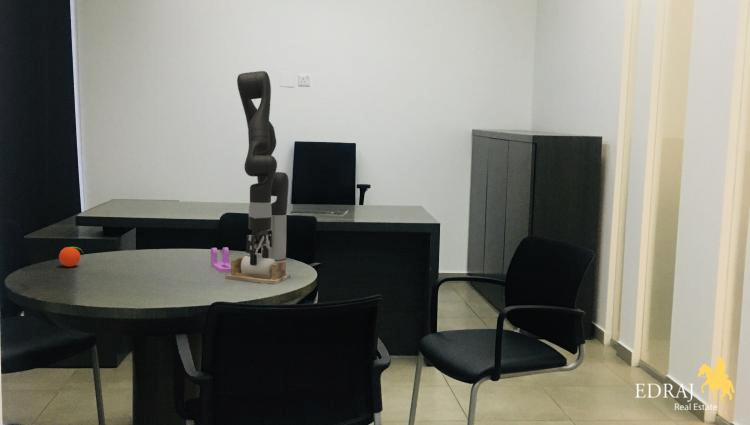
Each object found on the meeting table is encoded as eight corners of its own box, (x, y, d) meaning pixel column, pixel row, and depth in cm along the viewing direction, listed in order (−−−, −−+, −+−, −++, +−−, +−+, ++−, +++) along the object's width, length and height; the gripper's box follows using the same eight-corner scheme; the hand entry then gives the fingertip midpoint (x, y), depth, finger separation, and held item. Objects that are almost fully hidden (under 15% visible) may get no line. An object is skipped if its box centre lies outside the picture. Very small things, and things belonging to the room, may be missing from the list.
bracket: (210, 266, 274) (210, 247, 274) (225, 265, 277) (226, 246, 276) (220, 273, 263) (221, 253, 262) (236, 272, 266) (236, 252, 265)
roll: (239, 275, 255) (239, 257, 254) (247, 271, 261) (247, 254, 260) (269, 278, 252) (269, 260, 251) (277, 275, 257) (277, 257, 256)
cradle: (243, 272, 265) (243, 255, 264) (290, 277, 259) (290, 260, 258) (225, 278, 254) (225, 260, 253) (274, 284, 248) (274, 266, 247)
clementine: (84, 264, 269) (84, 244, 268) (83, 268, 262) (83, 247, 261) (59, 264, 266) (59, 244, 265) (58, 268, 260) (58, 248, 259)
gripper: (259, 212, 262) (259, 258, 264) (239, 216, 248) (239, 265, 250) (279, 213, 259) (278, 260, 261) (260, 218, 246) (259, 268, 248)
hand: (259, 263), depth 256 cm, fingers open, 8 cm apart
